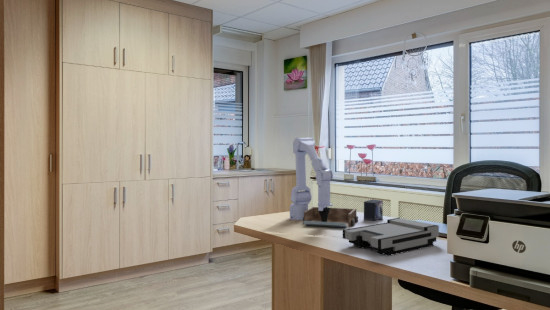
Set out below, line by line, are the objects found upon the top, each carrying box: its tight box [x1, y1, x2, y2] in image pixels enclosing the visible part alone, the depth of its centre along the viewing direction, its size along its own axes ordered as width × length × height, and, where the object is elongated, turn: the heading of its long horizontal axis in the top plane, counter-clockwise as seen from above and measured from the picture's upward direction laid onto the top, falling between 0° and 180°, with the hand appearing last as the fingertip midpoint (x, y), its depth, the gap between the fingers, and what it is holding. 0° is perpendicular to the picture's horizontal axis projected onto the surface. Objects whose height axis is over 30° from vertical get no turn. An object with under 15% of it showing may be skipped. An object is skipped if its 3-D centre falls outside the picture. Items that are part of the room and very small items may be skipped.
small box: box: [363, 198, 384, 222], centre depth 222 cm, size 11×6×10 cm, turn 143°
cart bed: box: [302, 206, 359, 228], centre depth 215 cm, size 25×16×7 cm, turn 69°
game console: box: [342, 217, 440, 256], centre depth 170 cm, size 21×32×8 cm, turn 122°
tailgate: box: [302, 221, 348, 229], centre depth 204 cm, size 20×1×6 cm
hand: (324, 222), depth 204 cm, fingers closed, pressing on tailgate
